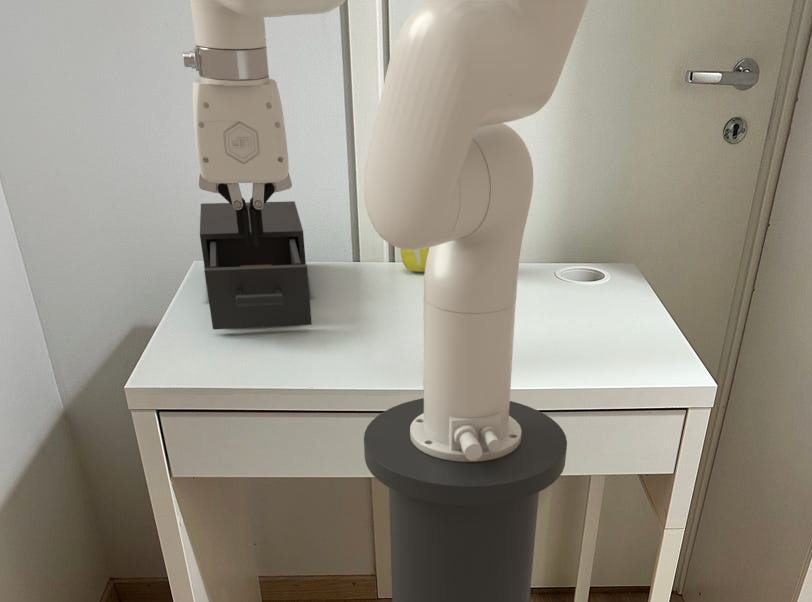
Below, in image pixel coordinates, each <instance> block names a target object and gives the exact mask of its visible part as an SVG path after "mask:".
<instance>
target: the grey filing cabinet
mask: <svg viewBox="0 0 812 602" xmlns="http://www.w3.org/2000/svg"><path fill="white" fill-rule="evenodd" d="M245 204H246V205H247V207H248V216H249V225H250V235H251V238H252V232H251V223H250V213H249V205H250V201H249V202H248V201H247V202H245ZM298 211H299V210H298V207H297V205H296V201H292V200H291V201H289V200H288V201H266V203H265V204H264V205H263V208H262V209H261V212H262V223H263V233H264V236H258V238H274V237H294V238H295V242H296V246H297V250H298V254H299V258H300V262H301V264H306V265H307V262H306V261H307V260H306V249H305V248H306V247H305V238H304V237H305V236H304V229H303V226H302V222H301V218H300V215H299V212H298ZM199 215H200V216H199V220H200V221H199V239H200V246H201V247H200V248H201V253H202V259H203V267H204V269H205V268H210V239H242V238H245V236H239V234H238V225H237V216H236V209H235V208H234V207H233V205H231V204H230V203H229V202H213V203H212V202H208V203H206V202H205V203H200V213H199Z"/></svg>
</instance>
